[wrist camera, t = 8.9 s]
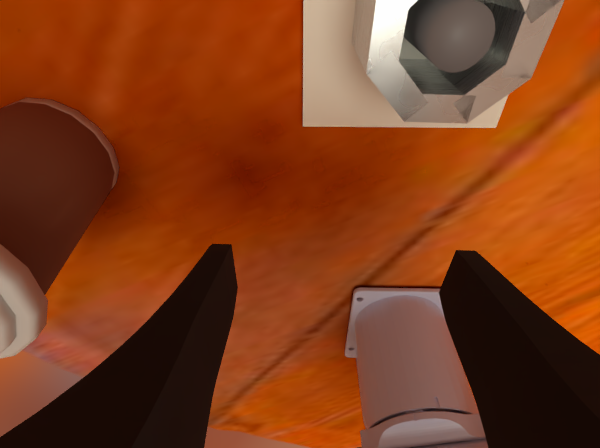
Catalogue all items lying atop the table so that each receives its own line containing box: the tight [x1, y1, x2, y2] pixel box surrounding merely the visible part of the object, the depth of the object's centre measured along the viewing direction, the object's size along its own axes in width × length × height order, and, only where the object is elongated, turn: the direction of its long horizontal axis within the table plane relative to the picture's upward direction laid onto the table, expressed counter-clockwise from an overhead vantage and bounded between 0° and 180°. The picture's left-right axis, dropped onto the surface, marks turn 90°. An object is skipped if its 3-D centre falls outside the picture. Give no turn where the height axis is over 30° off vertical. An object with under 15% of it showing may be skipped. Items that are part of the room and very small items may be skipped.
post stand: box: [303, 0, 508, 128], centre depth 13 cm, size 10×10×6 cm
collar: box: [351, 0, 564, 124], centre depth 13 cm, size 6×6×5 cm
